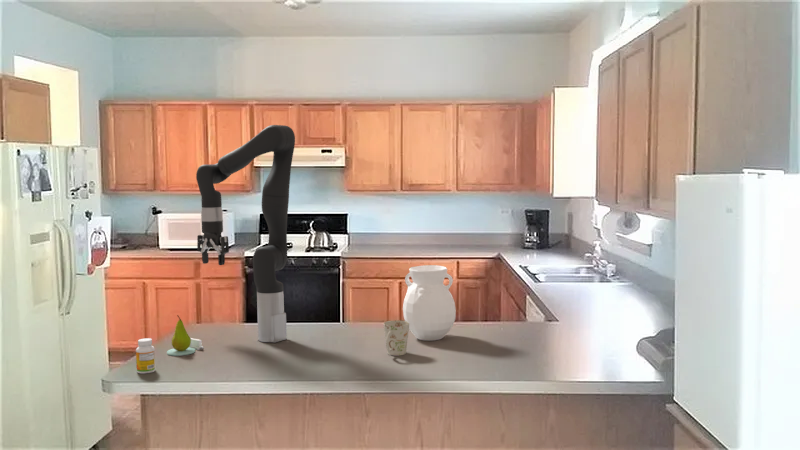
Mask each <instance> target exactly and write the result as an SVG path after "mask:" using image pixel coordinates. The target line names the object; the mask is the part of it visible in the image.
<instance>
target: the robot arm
mask: <svg viewBox="0 0 800 450" xmlns="http://www.w3.org/2000/svg"><path fill="white" fill-rule="evenodd" d="M295 144H296V136H295V132H294V130H293V129H292V128H291V127H290V126H288V125H281V124H271V125H268V126H266V127H265V128H264V129H262V130H261V131H260V132H259V133H257V134H256V135H255V136H254V137H252V138H251V139H250V140H248V141H247V142H246V143H244V144H243V145H241V146H240V147H237V148H236V149H233V150H232V151H230V152H228V153H227V154H224V155H223V156H221V157H220V158H219V159H218V161H217V163H214V164H207V163H206V164H200V165H199V167H198V168H197V171H196V173H195V175H196V176H195V178H196V182H197V186H198V189H199V194H200V196H201V197H200V198H201V200H200V201H201V211H200V212H201V213H200V222H201V233H202V234H199V235H197V243H196V244H197V246H196V247H197V248H196V249H197V252H200V254H201V262H202V264H204V265H205V264H209V250H210V249H214V250H215V251H216V252H217V254H218V255H217V256H218V257H217V261H218V263H217V264H218V266H224V265H225V263H226V258H225V257H226V256H225V255H226V254H228V253H230V247H229V246H230V245H229V237H228V236H222V233H223V232H224V220H223V219H224V218H223V209H222V208H223V207H222V203H223V201H222V194H221V192H220V191H218V190H216V189H215V184H216V185H217V184H221V183H222V182H224V181H226V180H227V179H228V178H229V177H230V176H231V175H233V174H234V173H235V174H236V173H237V172H239V171H241V170H242V169H245V167H247V166H248V165H250V164H251V162H252V161H253V160H254V159H256V158H258V157H260V156H262V155H264V154H268V153H271V152H272V153H273V157H272V165H271V168H270V171H269V173H268V176H267V177H266V180H265V182H264V185H263V187H262V193H261V211H262V214H263V217H264V219H265V222H266V225H267V228H268V242H267V243H268V244H267V245H265V246H260V247H258V248H257V249H256V250H255V251H254V253H253V257H252V268H253V281H254V285H255V288H256V302H257V303H256V305H257V307H256V310H257V339H258V340H257V341H259V342H261V343H278V342H281V341H284V340H287V337H288V334H287V313H286V312H285V305H284V304H285V303H284V302H285V301H284V296H285V295H284V283H283V282H282V281H279V280H278V279H277V277H276V272H278V271H281V270H283V269H284V268H285V267H286V265H287V261H288V241H287V240H288V237H287V235H288V232H287V231H288V229H287V228H288V215H289V214H288V212H289V201H290V183H291V173H292V171H291V170H292V164H293V163H292V162H293V157H294V151H295Z"/></svg>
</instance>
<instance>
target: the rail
mask: <svg viewBox="0 0 800 450" xmlns="http://www.w3.org/2000/svg"><path fill="white" fill-rule="evenodd" d="M190 338H191V344H190V346H189V348H194V349H195V351H199V350H204V349H205V348H204V347H205V346H203V344H202V343H203V341H202V339H199V338H192V337H190Z"/></svg>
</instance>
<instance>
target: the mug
mask: <svg viewBox="0 0 800 450" xmlns="http://www.w3.org/2000/svg"><path fill="white" fill-rule="evenodd" d="M383 332H384V338H385V348H386V352H387V354H388V356H389V355H390V356H395V357H396V356H403V355H406V354H407V350H408V349H407V347H408V340H409V339H408V338H409V333H410V330H409V322H407V321H405V320H389V321H384V322H383Z"/></svg>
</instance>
